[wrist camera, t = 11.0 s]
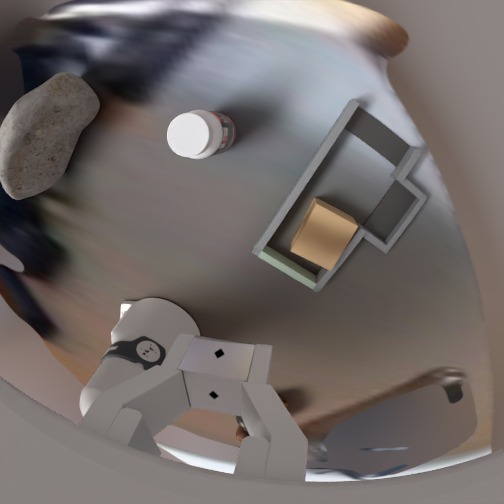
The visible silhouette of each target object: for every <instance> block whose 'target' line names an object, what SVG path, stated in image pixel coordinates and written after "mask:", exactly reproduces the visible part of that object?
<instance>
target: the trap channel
mask: <svg viewBox="0 0 504 504" xmlns="http://www.w3.org/2000/svg"><path fill="white" fill-rule="evenodd" d="M359 104H360V103H358V102H357V101H356V100H354V99H352V100H350V101H349V102H348V104H347V105H346V107H345V108H344V110H343V111H342V113H341V114H340V116H339V117H338V119H337V120H336V122H335V123H334V125H333V127H332V128H331V130H330V131H329V133H328V134H327V136H326V137H325V139H324V140H323V142H322V143H321V145H320V146H319V148H318V149H317V151H316V152H315V154H314V155H313V157H312V159H311V160H310V162H309V163H308V165H307V166H306V168H305V169H304V171H303V172H302V174H301V175H300V177H299V178H298V180H297V181H296V183H295V184H294V186H293V187H292V189H291V191H290V192H289V194H288V195H287V197H286V198H285V200H284V201H283V203H282V204H281V206H280V207H279V209H278V210H277V212H276V213H275V215H274V216H273V218H272V220H271V221H270V223H269V224H268V226H267V227H266V229H265V230H264V232H263V233H262V235H261V236H260V238H259V239H258V241H257V242H256V244H255V246H254V248H253V251H252V253H253V254H255V255H256V256H258V257H260V258H261V259H263V260H265V261H266V262H268V263H270V264H271V265H273V266H274V267H276V268H278V269H279V270H281V271H283V272H284V273H286V274H288V275H289V276H291V277H293V278H294V279H296V280H298V281H299V282H301V283H303V284H304V285H306V286H308V287H309V288H311V289H313V290H314V291H316V292H319V291H320V290H321V289H322V287H323V286H324V285H325V284H326V283H327V281H328V280H329V279H330V278H331V277H332V275H333V274H334V273H335V272H336V270H337V269H338V268H339V267H340V266H341V264H342V263H343V262H344V261H345V259H346V258H347V257H348V255H349V254H350V253H351V252H352V250H353V249H354V248H355V247H356V245H357V244H358V243H359V241H360V240H361V239H362V237H363V238H365V239H366V240H368V241H369V242H370V243H372V244H373V245H374V246H376V247H377V248H379V249H380V250H381V251H383V252H384V253H385V254H386V253H387V252H388V251H389V249H390V248H391V247H392V246H393V244H394V243H395V242H396V240H397V239H398V238H399V236H400V235H401V234H402V233H403V231H404V230H405V229H406V227H407V226H408V225H409V223H410V222H411V220H412V219H413V218H414V216H415V215H416V214H417V212H418V211H419V209H420V208H421V207H422V205H423V204H424V202H425V201H426V199H427V198H428V197H427V196H426V195H425V194H424V193H422V192H421V191H420V190H419V189H418V188H417V187H416V186H415V185H413V184H412V183H411V182H410V181H409V180H408V179H406V176H407V175H408V173H409V172H410V171H411V169H412V168H413V166H414V164H415V163H416V161H417V160H418V158H419V157H420V155H421V154H422V152H420V151H419V150H418V149H417V148H414V147H410V146H409V145H408V144H406V143H405V142H404V141H403V140H402V139H400V138H399V137H398V136H397V135H395V134H394V133H393V132H392V131H391V130H389V129H388V128H387V127H385V126H384V125H383V124H382V123H380V122H379V121H378V120H376V119H375V118H374V117H372V116H371V115H370V114H368V113H367V112H365V111H364V110H363V109H361V108H360V107H358V106H359ZM343 128H346V129H347V130H348V131H350V132H351V133H353V134H354V135H356V136H357V137H358V138H360V139H361V140H362V141H364V142H365V143H367V144H368V145H369V146H371V147H372V148H373V149H375V150H376V151H377V152H378V153H380V154H381V155H382V156H384V157H385V158H386V159H387V160H389V161H390V162H391V163H392V164H394V165H395V166H396V168H395V169H394V171H393V172H392V174H391V175H390V176H392V177H393V178H394V179H395V182H394V183H393V185H392V186H391V188H390V189H389V190H388V192H387V193H386V195H385V196H384V198H383V199H382V200H381V202H380V203H379V205H378V206H377V207H376V209H375V210H374V211H373V213H372V214H371V216H370V217H369V218H368V220H367V221H366V222H365V224H364V225H363V226H362V225H361V224H359V223H358V222H357V225H358V228H357V229H356V231H355V233H354V234H353V236H352V238H351V239H350V241H349V243H348V244H347V246H346V248H345V249H344V251H343V252H342V254H341V256H340V257H339V259H338V260H337V262H336V263H335V265H334V267H333V268H332V270H331V271H330V270H328V269H326V268H324V267H323V268H322V269H321V270H320V271H319V273H318V274H317V275H314V274H312V273H311V272H309V271H307V270H306V269H304V268H303V267H301V266H299V265H298V264H296V263H294V262H293V261H291V260H290V259H288V258H286V257H285V256H283V255H281V254H280V253H278V252H277V251H275V250H273V249H272V248H270V247H268V246H267V245H266V244H267V242H268V241H269V239H270V238H271V237H272V235H273V234H274V232H275V231H276V229H277V228H278V226H279V225H280V223H281V222H282V220H283V219H284V217H285V216H286V214H287V213H288V211H289V210H290V208H291V207H292V205H293V204H294V202H295V201H296V199H297V198H298V196H299V195H300V193H301V192H302V190H303V189H304V187H305V186H306V184H307V183H308V181H309V180H310V178H311V177H312V175H313V174H314V172H315V171H316V169H317V168H318V166H319V165H320V163H321V162H322V160H323V159H324V157H325V156H326V154H327V153H328V151H329V150H330V148H331V147H332V145H333V144H334V142H335V141H336V139H337V138H338V136H339V134H340V133H341V131H342V130H343Z"/></svg>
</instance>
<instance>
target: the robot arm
mask: <svg viewBox="0 0 504 504" xmlns="http://www.w3.org/2000/svg"><path fill="white" fill-rule="evenodd" d="M111 335H112V338H111V340H112V345H111V347H110V348H109V349H108V350H107V351H106V352H105V354H104V357H103V358H102V360H101V365H100V367H99V368H98V369H97V371H96V372H95V373H94V375H93V376H92V377H91V379H90V380H89V382H88V383H87V384H86V386H85V387H84V389H83V390H82V392H81V397H80V409H81V413H82V415H83V418H82V420H81V422H80V423H79V424H77V423H75V422H73V421H71V420H69V419H67V418H65V417H64V416H62V415H60V414H58V413H56V412H54V411H53V410H51V409H49V408H47V407H46V406H44V405H42V404H41V403H39V402H37V401H36V400H34V399H33V398H31V397H29V396H28V395H26V394H25V393H23V392H22V391H20V390H19V389H17V388H16V387H14V386H13V385H12V384H10V383H9V382H7V381H6V380H4V379H3V378H2V377H1V376H0V504H504V449H502V450H499V451H497V452H494V453H491V454H488V455H486V456H483V457H480V458H477V459H474V460H470V461H467V462H464V463H460V464H457V465H453V466H449V467H445V468H441V469H437V470H432V471H427V472H422V473H417V474H412V475H406V476H399V477H392V478H384V479H374V480H362V481H344V482H305V476H306V462H307V447H308V440H307V439H306V437H305V436H304V434H303V433H302V431H301V430H300V428H299V427H298V425H297V424H296V422H295V421H294V419H293V418H292V416H291V415H290V413H289V412H288V410H287V408H286V407H285V405H284V404H283V402H282V401H281V399H280V398H279V396H278V394H277V393H276V391H275V390H274V388H273V387H272V385H269V381H270V371H271V361H272V350H273V346H272V345H263V344H252V343H243V342H235V341H227V340H226V341H225V340H220V339H214V338H208V337H203V336H200V332H199V329H198V327H197V325H196V323H195V322H194V320H193V319H192V318H191V317H190V315H189V314H188V313H186V312H185V311H184V310H183V309H182V308H180V307H179V306H177V305H175V304H174V303H172V302H169V301H167V300H164V299H159V298H146V299H142V300H140V301H136V302H135V301H124V302H123V303H122V305H121V314H120V320H119V322H118V323H117V325H116V326H115V327H114V329H113V330H112V332H111ZM190 407H193V408H199V409H204V410H210V411H216V412H221V413H226V414H231V415H237V416H242V419H243V421H244V424H245V426H246V428H247V430H248V433H249V435H250V436H247V437H245V438H244V439H242V443H241V447H240V451H239V456H238V459H237V463H236V467H235V471H234V474H229V473H224V472H219V471H214V470H209V469H204V468H200V467H196V466H191V465H187V464H184V463H180V462H176V461H173V460H169V459H166V458H162V457H160V455H161V452H160V450H159V448H158V446H157V444H156V442H155V440H154V439H153V436H155V435H156V434H158V433H159V432H160V431H162V430H163V429H164V428H166V427H167V426H168V425H170V424H171V423H172V422H173V421H175V420H176V419H177V418H179V417H180V416H181V415H182V414H184V413H185V412H186V411H188V410H189V409H190Z"/></svg>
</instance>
